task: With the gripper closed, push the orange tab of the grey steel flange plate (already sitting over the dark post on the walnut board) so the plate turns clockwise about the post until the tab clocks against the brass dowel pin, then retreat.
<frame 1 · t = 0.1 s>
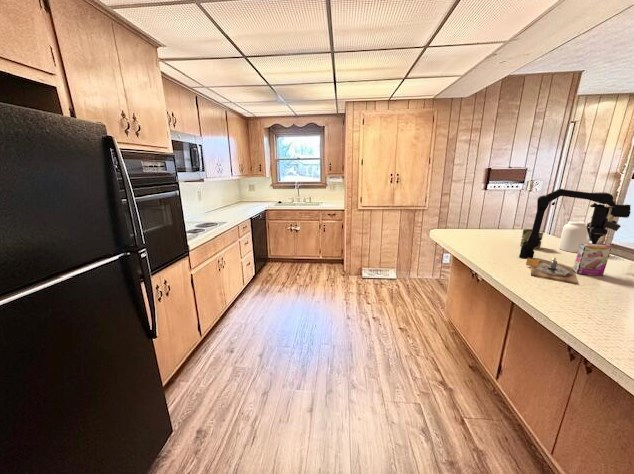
hand: (592, 242, 151), 15 cm above the countertop, fingers open, 9 cm apart
candy bar box: (587, 274, 145), on the countertop
post: (551, 273, 147), resting on walnut board
walnut board: (551, 272, 148), on the countertop
dowel pin: (552, 267, 155), resting on walnut board
white container: (570, 250, 184), on the countertop
flange plate: (546, 265, 148), point 3 cm above the countertop, hinge at 160.0°
olive green cube: (529, 247, 192), on the countertop
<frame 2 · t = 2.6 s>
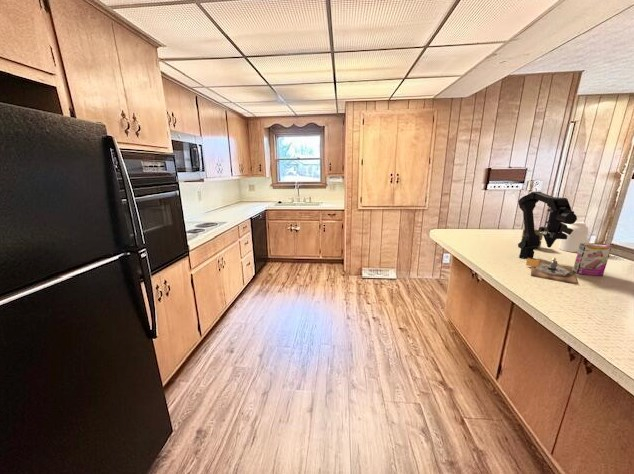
hand: (549, 247, 152), 12 cm above the countertop, fingers closed
nothing on the countertop moved.
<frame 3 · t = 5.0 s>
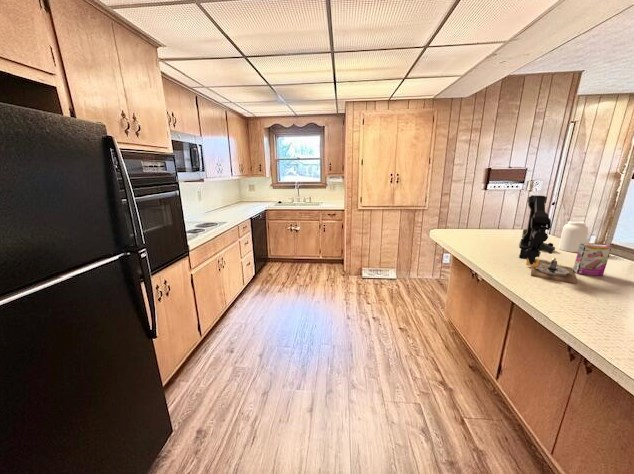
hand: (531, 264, 152), 3 cm above the countertop, fingers closed
flange plate: (546, 265, 148), point 3 cm above the countertop, hinge at 159.8°, touching gripper
everything else where it was.
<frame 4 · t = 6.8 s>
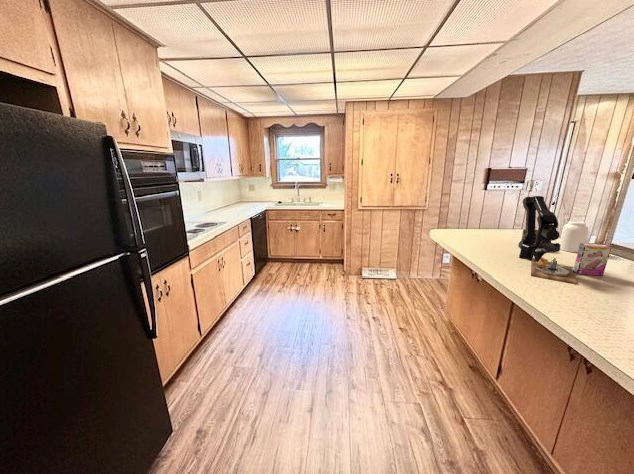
hand: (536, 261, 155), 3 cm above the countertop, fingers closed
flange plate: (549, 265, 149), point 3 cm above the countertop, hinge at 121.3°, touching gripper
everything else where it was.
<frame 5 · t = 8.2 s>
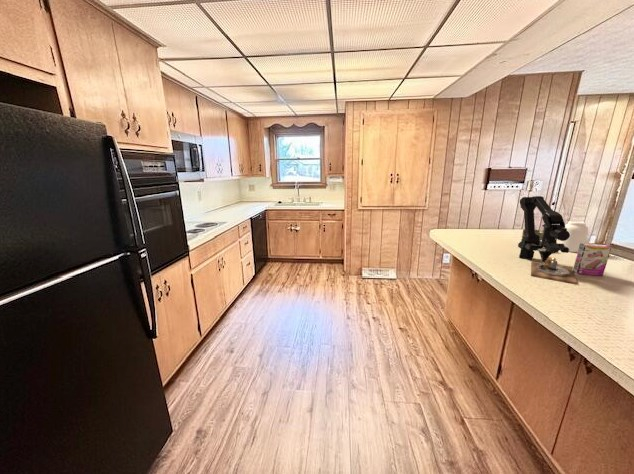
hand: (543, 261, 155), 3 cm above the countertop, fingers closed
flange plate: (551, 265, 148), point 3 cm above the countertop, hinge at 97.7°, touching gripper
everything else where it was.
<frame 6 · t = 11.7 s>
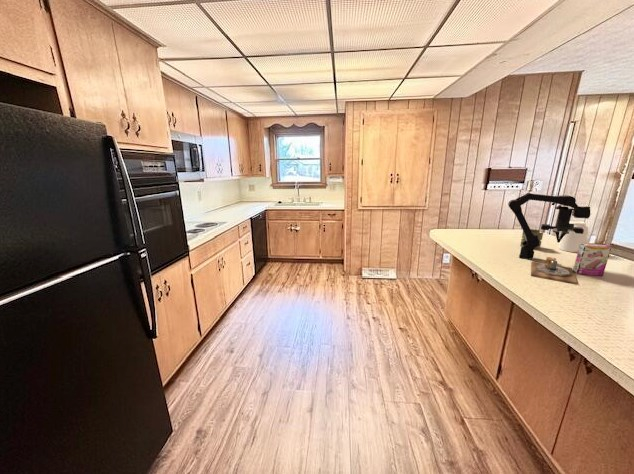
hand: (558, 242, 161), 12 cm above the countertop, fingers closed
flange plate: (551, 265, 148), point 3 cm above the countertop, hinge at 97.6°
everything else where it was.
at the end: flange plate at +98° (first picture: +160°) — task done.
